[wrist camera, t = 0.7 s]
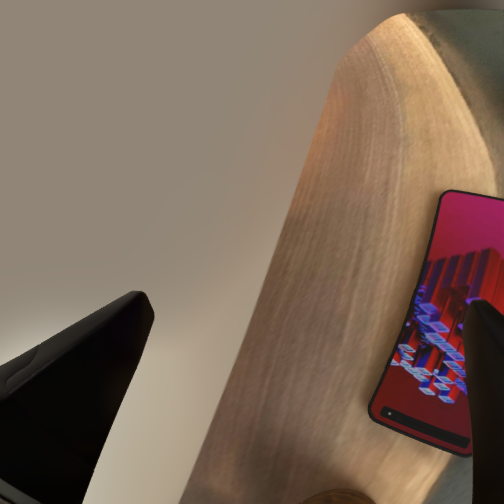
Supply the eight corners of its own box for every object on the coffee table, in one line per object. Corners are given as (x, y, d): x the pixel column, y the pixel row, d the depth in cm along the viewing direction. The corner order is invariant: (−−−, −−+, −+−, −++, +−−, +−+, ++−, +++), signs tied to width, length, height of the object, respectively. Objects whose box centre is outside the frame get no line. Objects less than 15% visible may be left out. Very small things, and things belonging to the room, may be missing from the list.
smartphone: (546, 207, 12) (475, 462, 10) (543, 214, 13) (475, 458, 11) (439, 186, 18) (360, 416, 16) (441, 193, 18) (365, 414, 16)
